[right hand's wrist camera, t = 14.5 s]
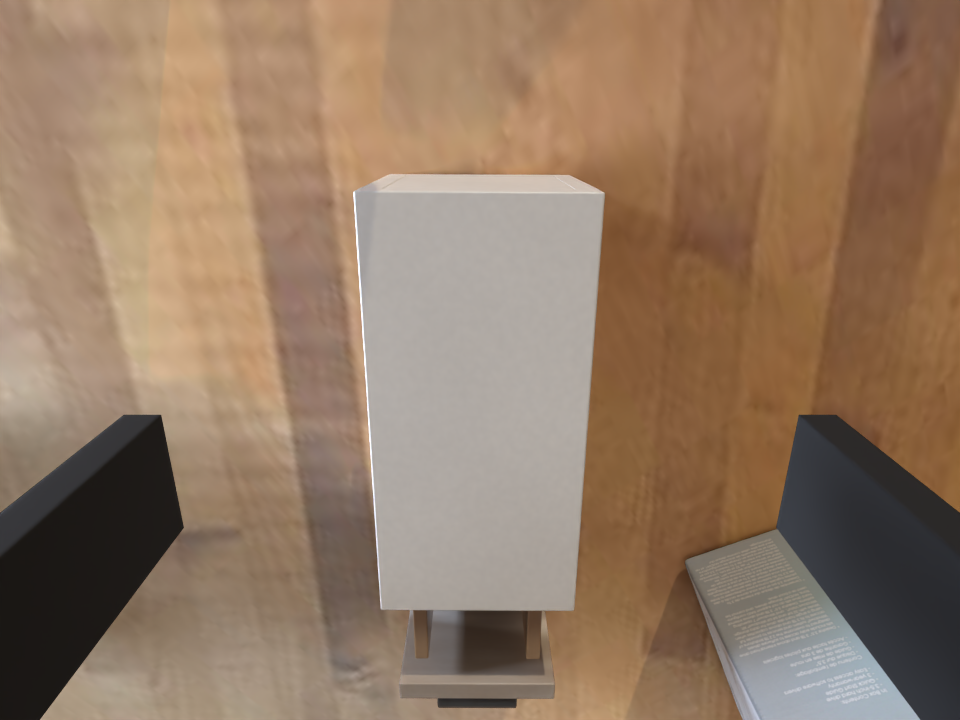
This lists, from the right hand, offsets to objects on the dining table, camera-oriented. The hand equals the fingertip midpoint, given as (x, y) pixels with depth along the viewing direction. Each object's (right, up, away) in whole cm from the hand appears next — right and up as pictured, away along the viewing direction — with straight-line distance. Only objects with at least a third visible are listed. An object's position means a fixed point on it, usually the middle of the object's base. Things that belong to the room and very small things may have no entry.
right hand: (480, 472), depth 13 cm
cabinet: (0, +3, +26) cm, 26 cm away
